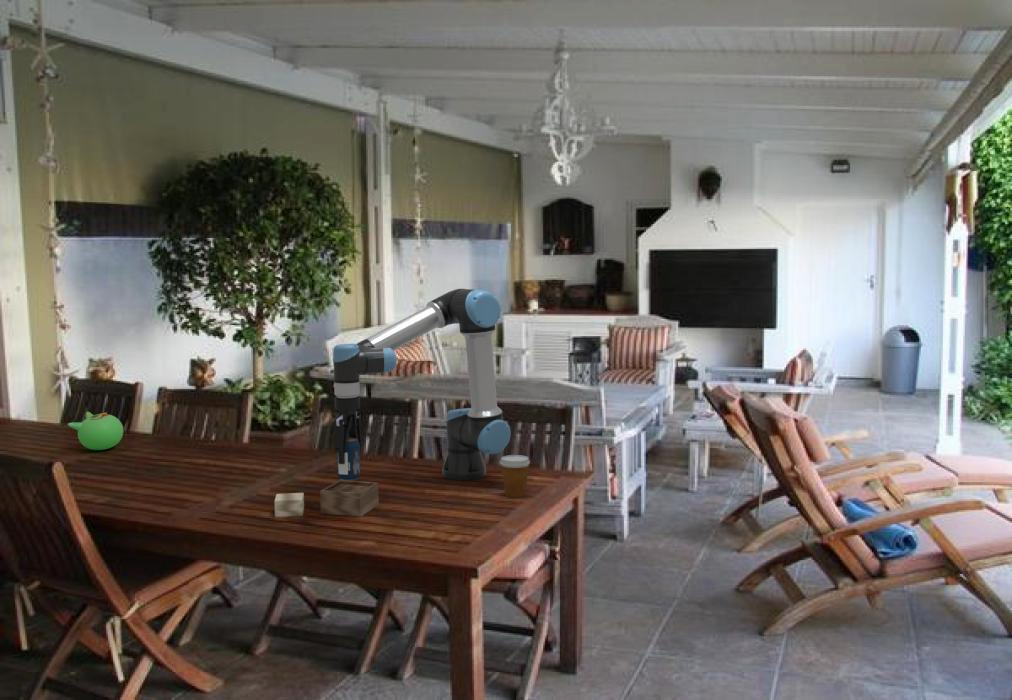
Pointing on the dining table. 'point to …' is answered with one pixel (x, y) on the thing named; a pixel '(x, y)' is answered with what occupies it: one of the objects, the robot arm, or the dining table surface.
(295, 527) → the dining table surface
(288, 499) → the beech block
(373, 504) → the wooden crate
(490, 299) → the robot arm
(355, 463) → the soda can
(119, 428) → the toy bird
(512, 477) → the disposable coffee cup
